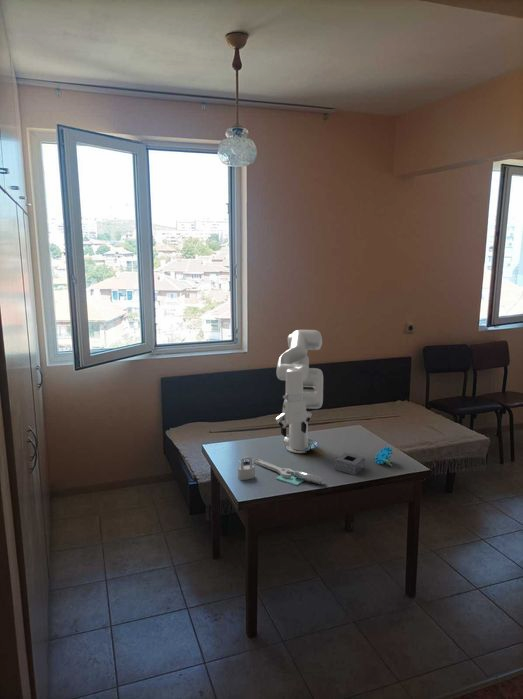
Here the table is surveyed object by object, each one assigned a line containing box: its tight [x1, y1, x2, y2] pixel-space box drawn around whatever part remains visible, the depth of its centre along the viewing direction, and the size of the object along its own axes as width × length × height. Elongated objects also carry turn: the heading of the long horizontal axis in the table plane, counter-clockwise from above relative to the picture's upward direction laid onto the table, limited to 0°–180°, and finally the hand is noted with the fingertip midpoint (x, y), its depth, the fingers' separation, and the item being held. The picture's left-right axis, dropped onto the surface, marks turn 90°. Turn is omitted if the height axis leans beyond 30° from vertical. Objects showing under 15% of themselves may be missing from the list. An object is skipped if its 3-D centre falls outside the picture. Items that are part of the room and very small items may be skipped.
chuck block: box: [334, 452, 366, 476], centre depth 230 cm, size 10×10×5 cm
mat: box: [275, 470, 305, 487], centre depth 221 cm, size 11×11×1 cm
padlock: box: [237, 456, 256, 481], centre depth 220 cm, size 7×4×10 cm, turn 113°
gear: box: [374, 446, 393, 467], centre depth 236 cm, size 11×6×10 cm
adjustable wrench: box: [253, 458, 295, 478], centre depth 230 cm, size 25×6×2 cm, turn 38°
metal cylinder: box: [294, 469, 324, 486], centre depth 217 cm, size 3×3×12 cm
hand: (293, 433), depth 217 cm, fingers open, 9 cm apart
